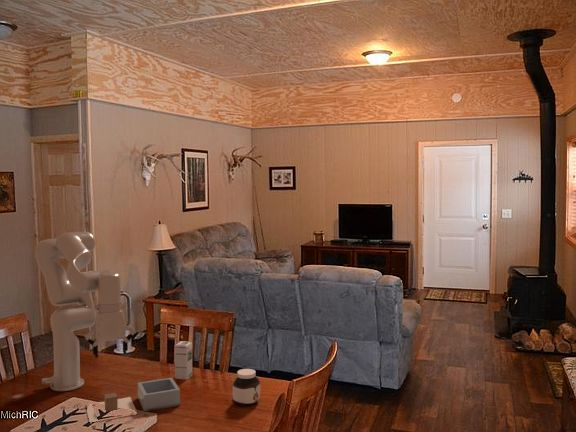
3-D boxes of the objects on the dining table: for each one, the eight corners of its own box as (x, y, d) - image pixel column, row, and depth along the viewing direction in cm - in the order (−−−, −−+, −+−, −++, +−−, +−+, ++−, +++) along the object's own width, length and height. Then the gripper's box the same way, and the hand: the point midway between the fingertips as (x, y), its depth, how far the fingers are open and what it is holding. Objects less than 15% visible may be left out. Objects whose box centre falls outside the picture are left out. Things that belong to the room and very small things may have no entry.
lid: (89, 425, 179) (89, 408, 179) (85, 407, 193) (85, 391, 193) (137, 416, 186) (137, 399, 186) (130, 399, 200) (130, 384, 200)
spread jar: (243, 409, 191) (243, 378, 190) (223, 400, 199) (223, 370, 198) (266, 399, 200) (267, 369, 199) (246, 391, 207) (246, 362, 207)
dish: (144, 411, 188) (143, 395, 188) (137, 398, 200) (137, 382, 200) (180, 405, 194) (180, 389, 194) (171, 392, 206) (171, 377, 205)
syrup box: (187, 379, 219) (187, 345, 218) (174, 378, 220) (174, 344, 219) (193, 374, 225) (192, 341, 224) (180, 373, 226) (179, 340, 225)
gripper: (84, 312, 180) (85, 361, 181) (136, 307, 188) (137, 354, 189) (82, 307, 187) (83, 355, 188) (132, 303, 194) (133, 348, 195)
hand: (110, 354), depth 188 cm, fingers open, 9 cm apart
